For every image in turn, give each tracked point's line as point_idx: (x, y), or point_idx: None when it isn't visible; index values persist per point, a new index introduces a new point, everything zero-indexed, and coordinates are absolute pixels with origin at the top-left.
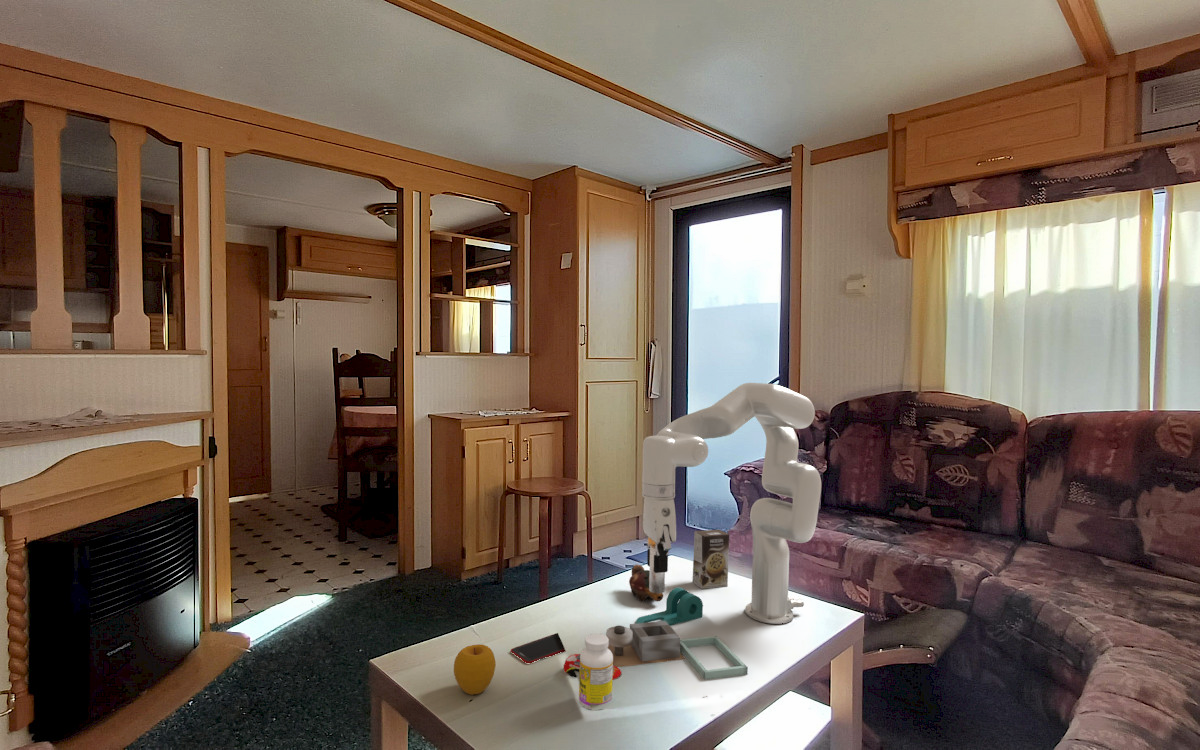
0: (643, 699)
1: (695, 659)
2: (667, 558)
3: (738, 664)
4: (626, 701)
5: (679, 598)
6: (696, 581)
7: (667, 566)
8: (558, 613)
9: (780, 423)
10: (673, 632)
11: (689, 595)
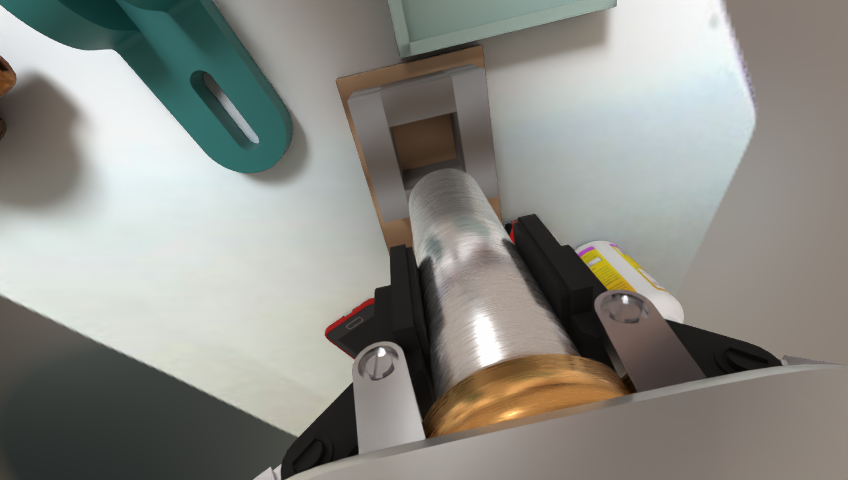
0: (605, 179)
1: (535, 20)
2: (575, 266)
3: None
4: (602, 212)
5: None
6: None
7: (546, 229)
8: (209, 341)
9: None
10: (444, 87)
11: None
